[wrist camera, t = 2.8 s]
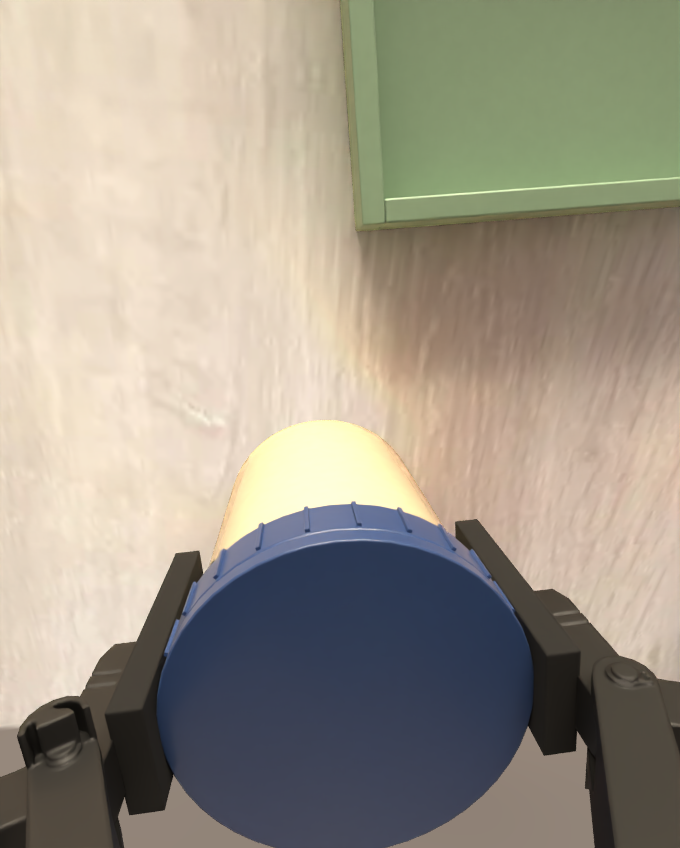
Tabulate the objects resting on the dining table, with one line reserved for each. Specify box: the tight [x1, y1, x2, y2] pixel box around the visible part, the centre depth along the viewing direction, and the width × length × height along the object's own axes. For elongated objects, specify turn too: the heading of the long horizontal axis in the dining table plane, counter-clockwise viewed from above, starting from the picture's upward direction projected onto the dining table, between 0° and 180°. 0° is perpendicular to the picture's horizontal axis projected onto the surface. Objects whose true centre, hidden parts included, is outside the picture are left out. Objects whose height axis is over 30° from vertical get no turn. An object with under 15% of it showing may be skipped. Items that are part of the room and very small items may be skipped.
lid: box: [156, 501, 534, 848], centre depth 12 cm, size 9×9×2 cm
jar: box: [209, 420, 447, 566], centre depth 17 cm, size 8×8×10 cm
